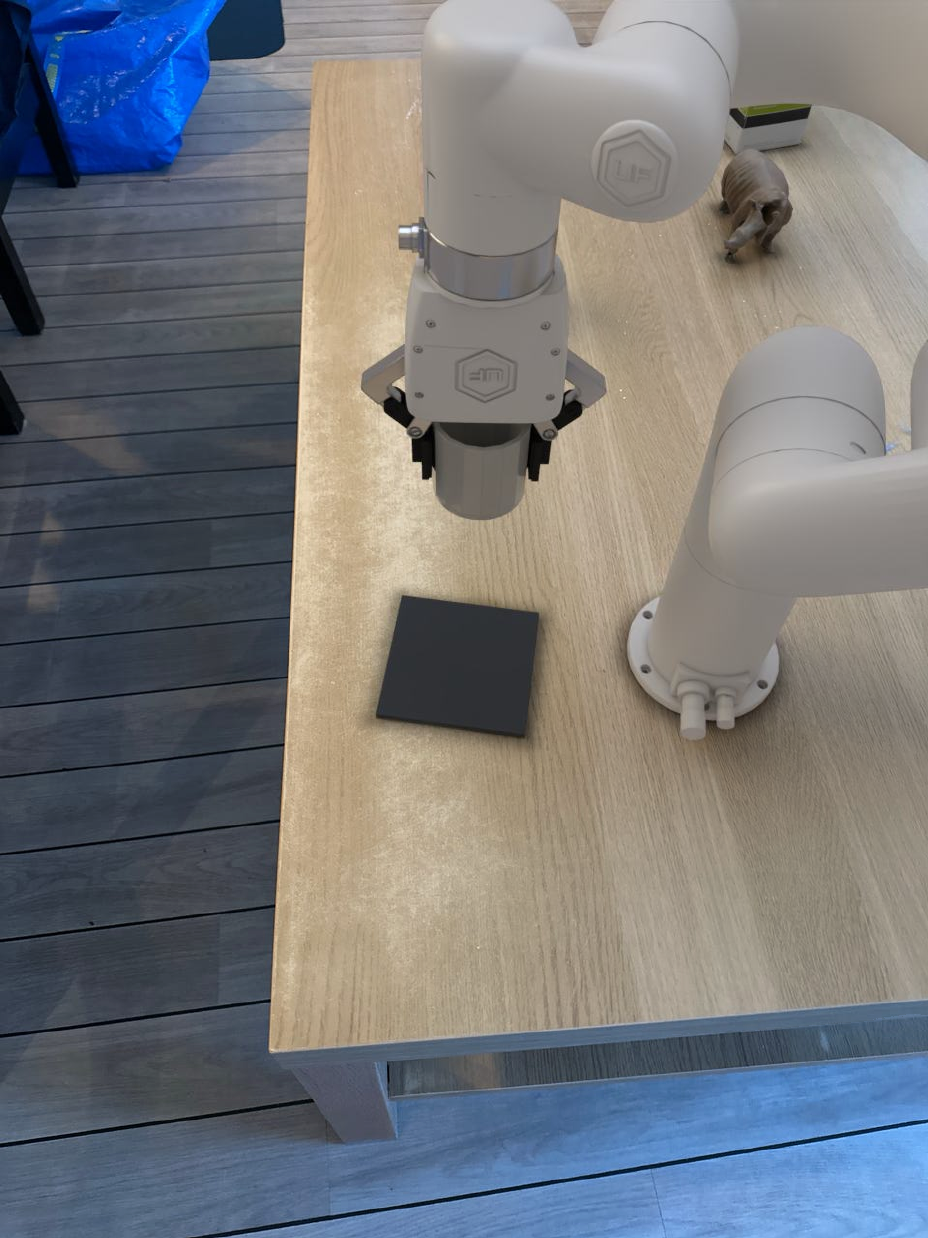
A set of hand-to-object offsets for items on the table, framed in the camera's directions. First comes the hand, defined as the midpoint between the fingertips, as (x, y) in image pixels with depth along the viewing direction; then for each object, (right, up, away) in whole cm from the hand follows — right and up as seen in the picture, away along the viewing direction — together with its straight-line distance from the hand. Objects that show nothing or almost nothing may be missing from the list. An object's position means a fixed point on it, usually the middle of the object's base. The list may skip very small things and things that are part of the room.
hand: (480, 465), depth 69 cm
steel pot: (0, -1, +2) cm, 2 cm away
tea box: (+37, +57, +63) cm, 92 cm away
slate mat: (-1, -15, +11) cm, 19 cm away
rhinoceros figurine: (+32, +34, +46) cm, 65 cm away
